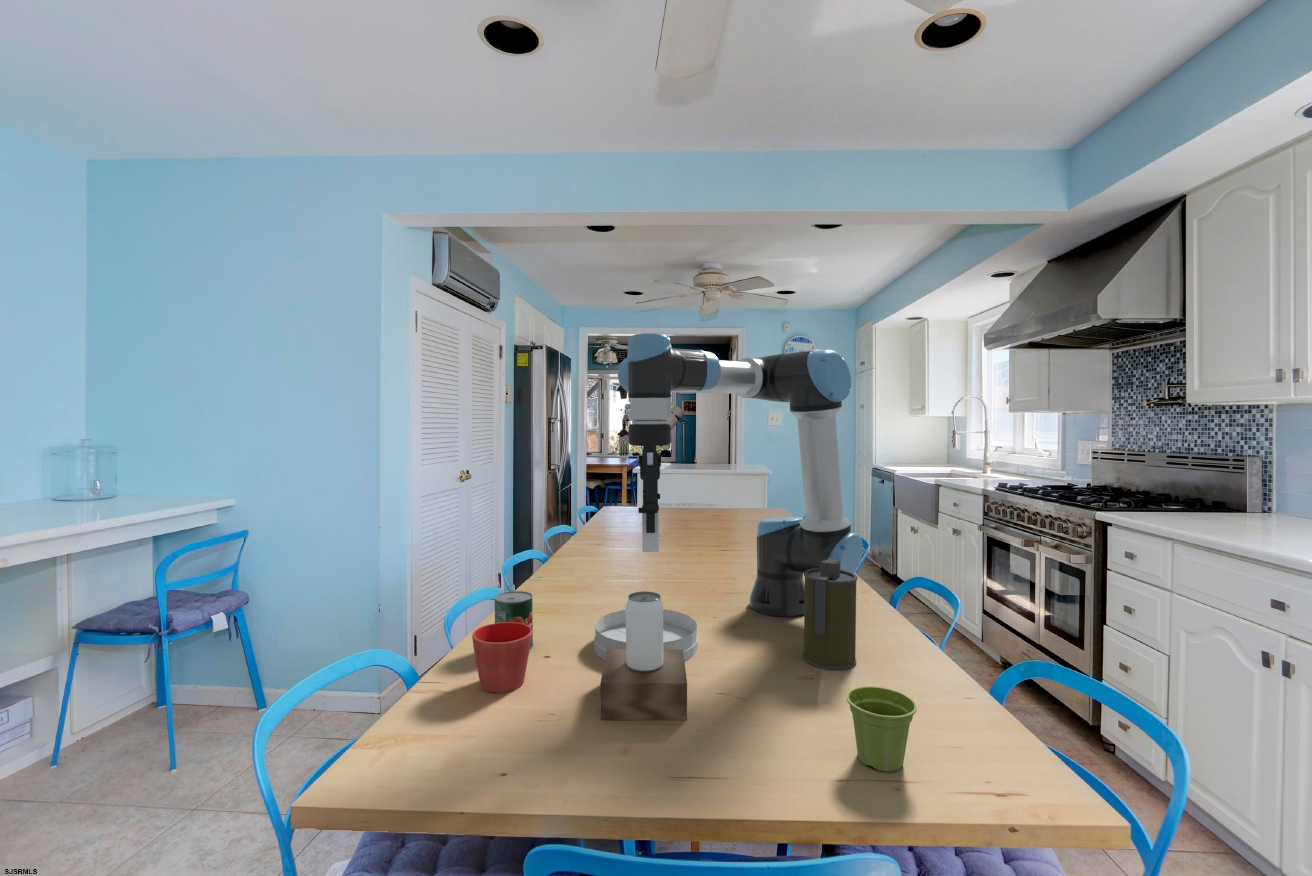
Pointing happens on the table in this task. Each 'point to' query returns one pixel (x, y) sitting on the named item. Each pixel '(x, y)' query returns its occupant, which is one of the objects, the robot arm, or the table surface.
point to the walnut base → (643, 689)
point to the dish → (675, 633)
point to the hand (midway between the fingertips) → (650, 542)
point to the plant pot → (881, 725)
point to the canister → (830, 616)
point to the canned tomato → (515, 608)
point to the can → (644, 631)
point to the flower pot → (502, 655)
